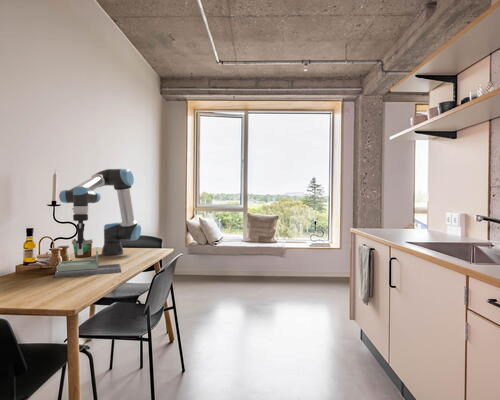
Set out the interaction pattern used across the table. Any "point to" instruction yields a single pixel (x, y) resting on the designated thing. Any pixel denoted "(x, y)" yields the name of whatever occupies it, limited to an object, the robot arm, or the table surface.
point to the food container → (86, 248)
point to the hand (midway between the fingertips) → (80, 253)
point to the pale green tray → (78, 264)
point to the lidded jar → (43, 257)
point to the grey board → (90, 271)
